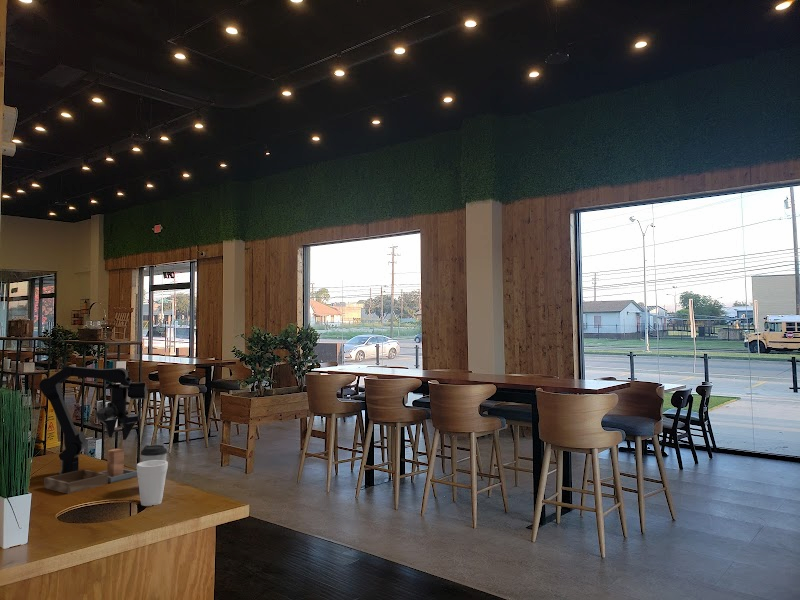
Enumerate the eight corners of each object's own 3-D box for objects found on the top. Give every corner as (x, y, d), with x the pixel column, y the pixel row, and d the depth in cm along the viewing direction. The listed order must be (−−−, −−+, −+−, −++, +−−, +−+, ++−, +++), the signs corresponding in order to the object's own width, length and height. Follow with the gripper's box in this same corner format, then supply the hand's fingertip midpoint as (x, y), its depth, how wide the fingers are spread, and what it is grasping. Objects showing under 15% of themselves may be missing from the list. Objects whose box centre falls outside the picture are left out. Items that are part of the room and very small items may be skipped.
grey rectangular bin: (93, 480, 219) (93, 473, 220) (119, 474, 229) (119, 467, 229) (110, 484, 214) (111, 477, 214) (137, 478, 223) (137, 471, 224)
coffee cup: (171, 484, 215) (172, 443, 215) (158, 491, 206) (159, 448, 206) (147, 484, 215) (148, 443, 216) (134, 490, 206) (135, 448, 207)
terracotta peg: (107, 477, 221) (107, 450, 221) (116, 474, 224) (117, 448, 225) (113, 478, 219) (114, 451, 219) (123, 476, 222) (124, 449, 223)
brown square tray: (43, 489, 208) (44, 477, 208) (83, 479, 220) (83, 469, 220) (67, 495, 200) (68, 483, 201) (107, 485, 213) (107, 474, 213)
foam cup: (136, 509, 186) (137, 467, 187) (134, 501, 195) (135, 461, 195) (168, 505, 191) (169, 464, 191) (165, 497, 199) (166, 459, 199)
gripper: (85, 399, 233) (84, 439, 232) (114, 403, 223) (112, 444, 223) (111, 397, 242) (110, 434, 242) (140, 400, 233) (139, 439, 232)
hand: (117, 438), depth 234 cm, fingers open, 9 cm apart
